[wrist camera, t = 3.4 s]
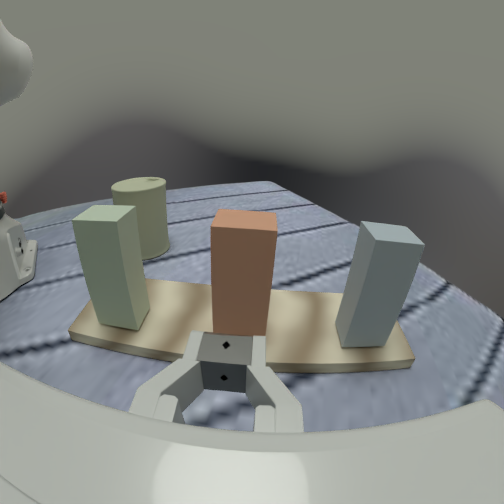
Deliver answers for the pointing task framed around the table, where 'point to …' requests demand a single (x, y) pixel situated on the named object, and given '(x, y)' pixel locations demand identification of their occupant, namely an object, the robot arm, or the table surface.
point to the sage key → (113, 264)
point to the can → (146, 212)
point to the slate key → (377, 283)
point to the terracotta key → (242, 270)
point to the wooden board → (277, 335)
